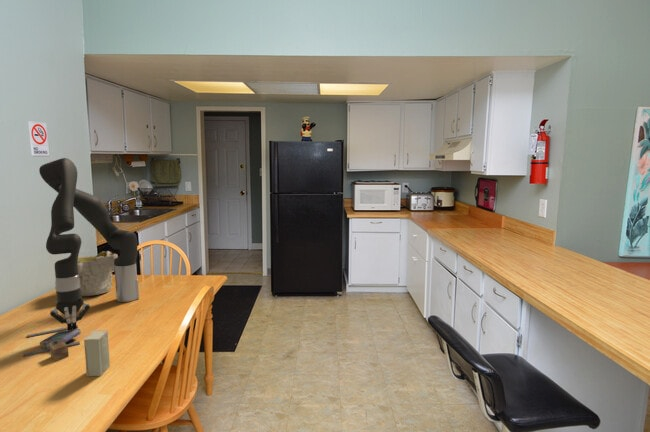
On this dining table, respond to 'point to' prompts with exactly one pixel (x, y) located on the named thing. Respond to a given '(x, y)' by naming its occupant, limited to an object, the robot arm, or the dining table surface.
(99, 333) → the skincare box
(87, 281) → the ceramic vessel
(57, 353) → the walnut cube
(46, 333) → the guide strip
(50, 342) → the flask
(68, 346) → the guide strip
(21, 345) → the dining table surface
